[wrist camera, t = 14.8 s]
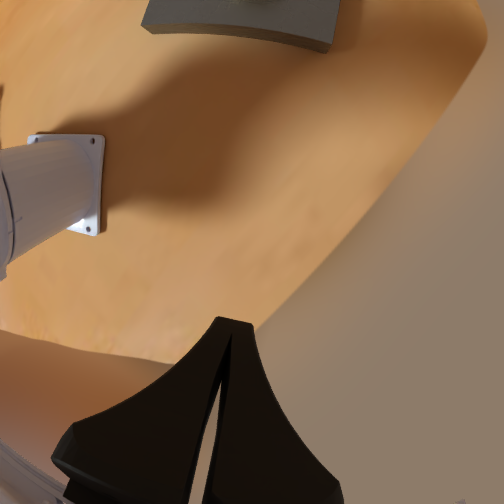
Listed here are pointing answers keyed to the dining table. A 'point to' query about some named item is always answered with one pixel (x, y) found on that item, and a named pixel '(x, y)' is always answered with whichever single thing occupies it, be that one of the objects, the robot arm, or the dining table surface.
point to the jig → (248, 19)
